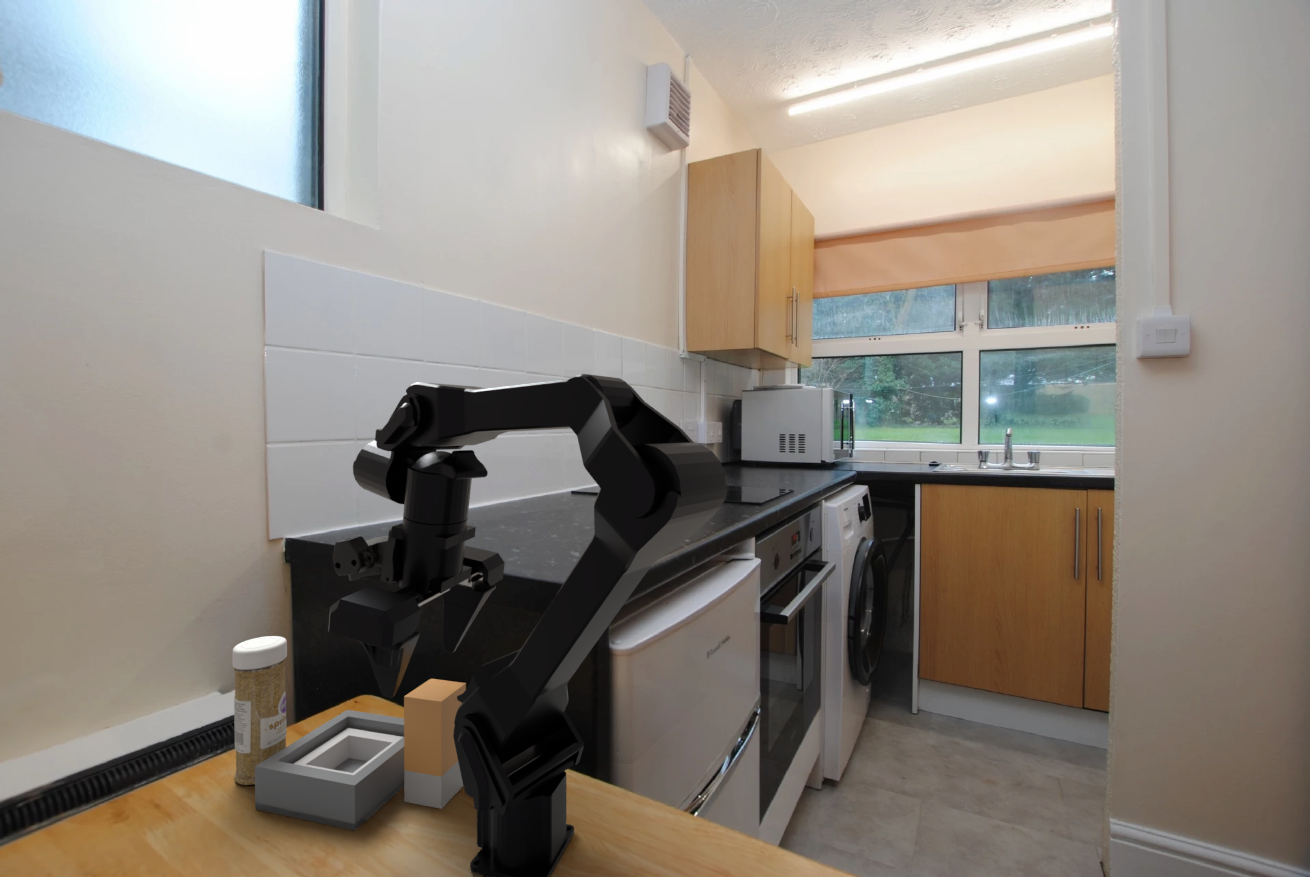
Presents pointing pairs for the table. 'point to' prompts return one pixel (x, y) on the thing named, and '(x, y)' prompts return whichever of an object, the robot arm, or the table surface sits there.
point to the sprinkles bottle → (259, 703)
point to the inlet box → (335, 771)
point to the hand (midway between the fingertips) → (421, 672)
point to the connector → (431, 743)
